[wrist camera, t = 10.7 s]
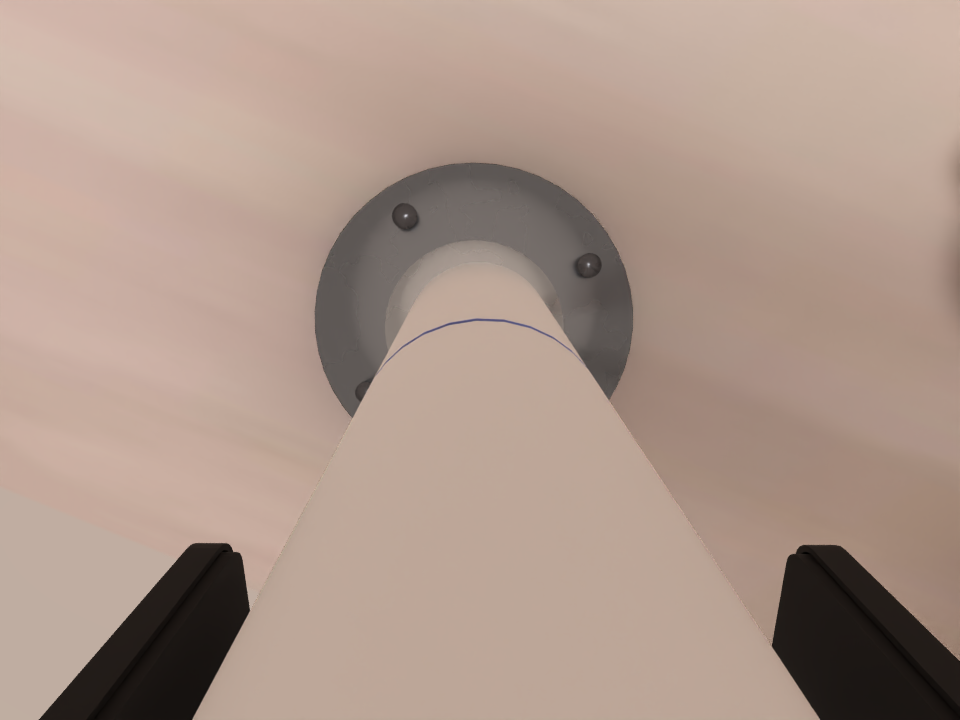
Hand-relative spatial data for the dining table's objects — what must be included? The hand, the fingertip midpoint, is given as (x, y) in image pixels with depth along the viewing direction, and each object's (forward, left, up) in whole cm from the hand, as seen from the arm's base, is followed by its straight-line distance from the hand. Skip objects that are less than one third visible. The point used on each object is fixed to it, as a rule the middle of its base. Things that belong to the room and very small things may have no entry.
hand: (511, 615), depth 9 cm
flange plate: (+1, 0, -20) cm, 20 cm away
